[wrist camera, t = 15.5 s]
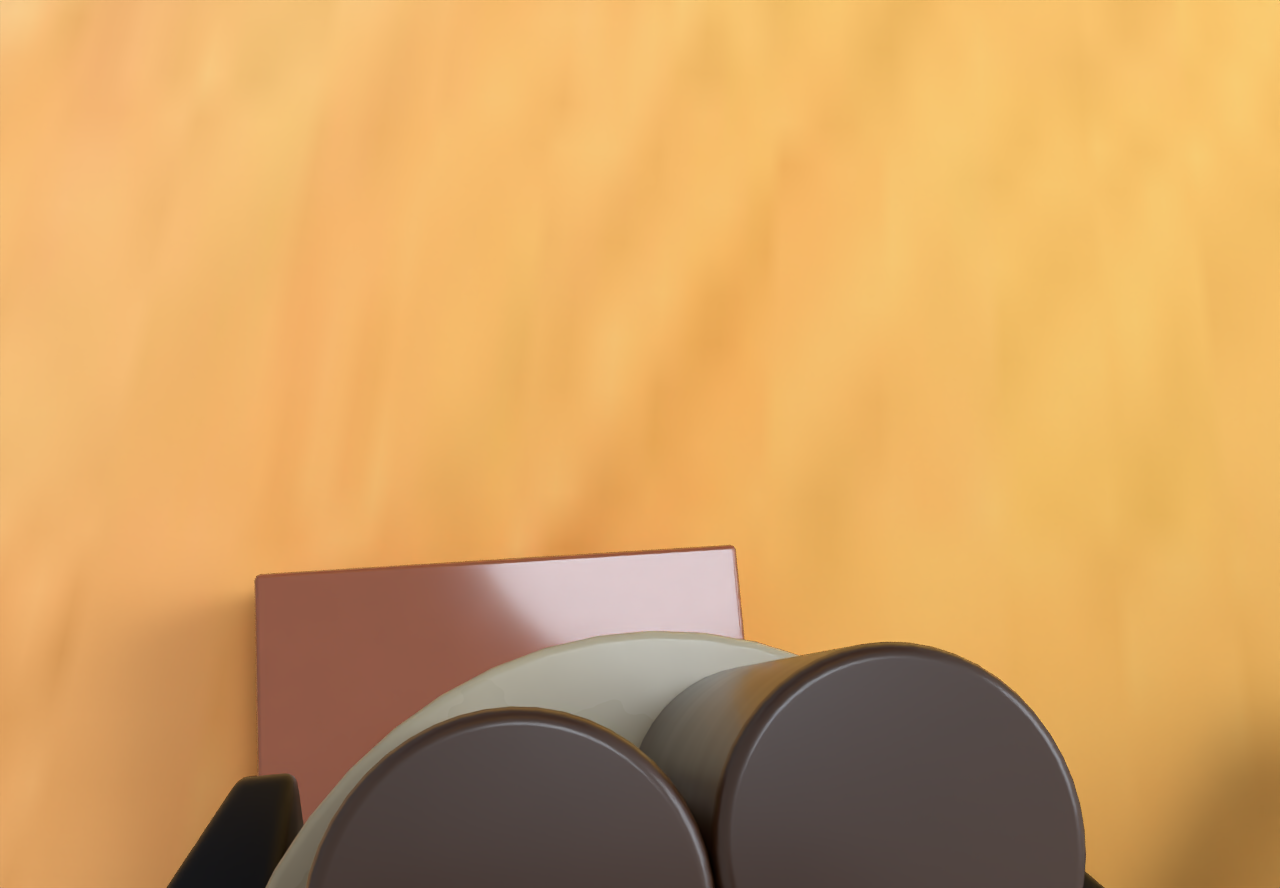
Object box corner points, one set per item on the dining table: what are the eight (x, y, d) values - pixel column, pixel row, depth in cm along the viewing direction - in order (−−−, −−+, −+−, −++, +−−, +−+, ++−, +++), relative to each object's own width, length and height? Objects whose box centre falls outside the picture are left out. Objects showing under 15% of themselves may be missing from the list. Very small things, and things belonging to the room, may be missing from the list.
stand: (754, 1015, 21) (785, 1044, 19) (279, 1076, 20) (262, 1114, 18) (711, 558, 23) (736, 543, 21) (270, 587, 21) (253, 573, 20)
